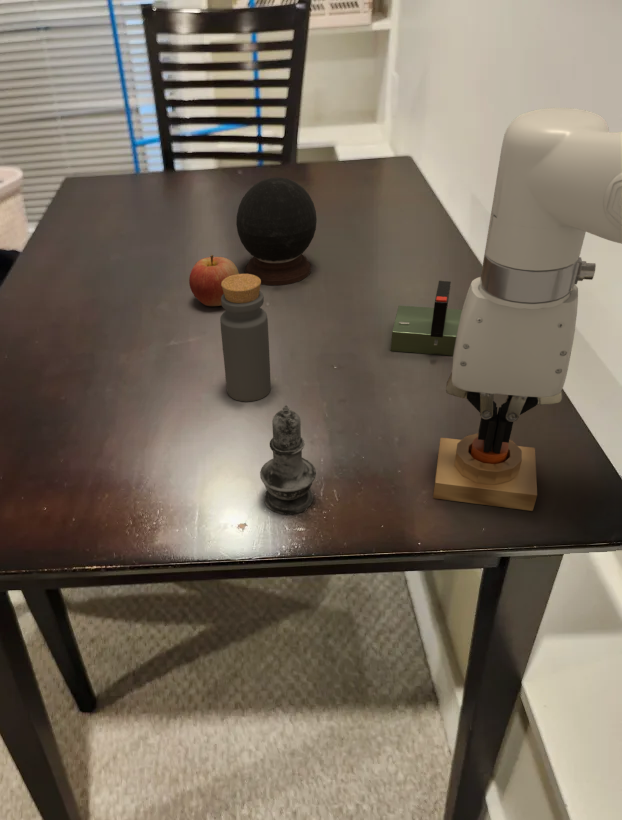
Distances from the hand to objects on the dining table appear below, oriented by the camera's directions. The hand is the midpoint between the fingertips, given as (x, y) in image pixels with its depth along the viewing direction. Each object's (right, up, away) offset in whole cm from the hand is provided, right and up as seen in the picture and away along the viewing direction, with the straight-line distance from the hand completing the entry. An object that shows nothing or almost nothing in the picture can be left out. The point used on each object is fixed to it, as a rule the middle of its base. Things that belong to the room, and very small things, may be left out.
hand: (491, 444), depth 71 cm
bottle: (-25, +9, +20) cm, 33 cm away
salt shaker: (-21, -6, +3) cm, 22 cm away
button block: (0, -4, +3) cm, 5 cm away
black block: (+1, +18, +23) cm, 30 cm away
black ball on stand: (-20, +34, +47) cm, 61 cm away
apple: (-30, +26, +40) cm, 56 cm away
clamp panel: (+1, +16, +25) cm, 30 cm away
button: (0, -1, +1) cm, 2 cm away
